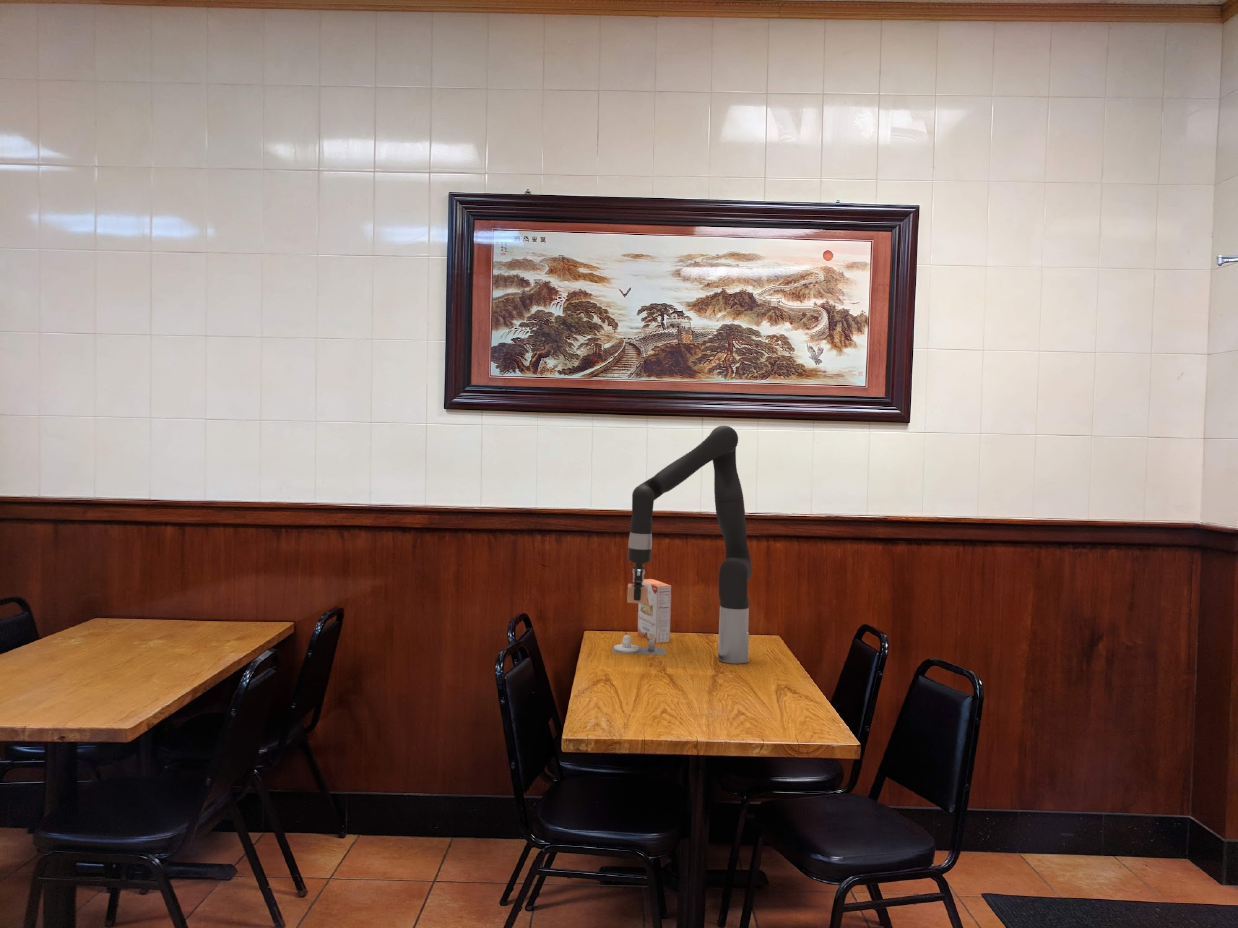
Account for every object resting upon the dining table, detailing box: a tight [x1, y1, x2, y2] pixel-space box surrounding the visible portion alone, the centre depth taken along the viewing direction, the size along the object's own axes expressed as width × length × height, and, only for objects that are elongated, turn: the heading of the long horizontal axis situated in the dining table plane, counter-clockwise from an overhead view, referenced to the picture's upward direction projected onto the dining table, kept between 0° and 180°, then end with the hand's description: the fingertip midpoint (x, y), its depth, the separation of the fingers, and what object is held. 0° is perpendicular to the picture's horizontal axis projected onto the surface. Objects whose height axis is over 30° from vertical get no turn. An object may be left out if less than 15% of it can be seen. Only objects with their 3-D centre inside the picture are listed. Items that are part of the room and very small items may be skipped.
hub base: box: [612, 634, 667, 656], centre depth 264 cm, size 17×9×6 cm, turn 89°
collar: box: [626, 583, 648, 604], centre depth 264 cm, size 6×6×5 cm
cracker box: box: [637, 578, 672, 644], centre depth 282 cm, size 14×6×21 cm, turn 25°
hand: (637, 598), depth 264 cm, fingers closed on collar, 6 cm apart
